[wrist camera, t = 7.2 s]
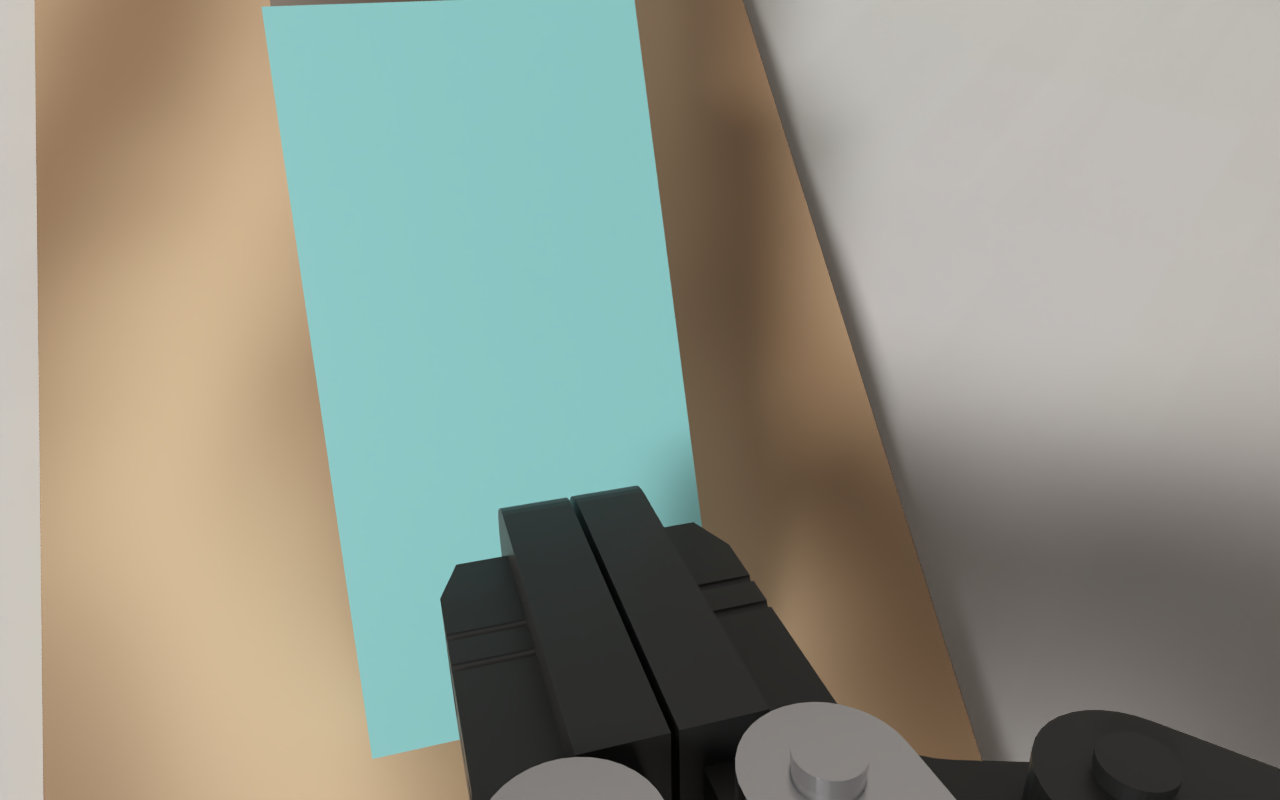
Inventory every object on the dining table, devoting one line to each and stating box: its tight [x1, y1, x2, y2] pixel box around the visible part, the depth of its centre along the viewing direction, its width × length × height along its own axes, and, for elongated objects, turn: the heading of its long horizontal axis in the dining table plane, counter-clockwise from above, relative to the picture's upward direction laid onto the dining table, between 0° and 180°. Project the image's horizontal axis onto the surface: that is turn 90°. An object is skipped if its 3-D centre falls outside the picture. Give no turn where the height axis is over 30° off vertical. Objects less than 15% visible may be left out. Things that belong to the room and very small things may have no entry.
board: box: [35, 0, 982, 800], centre depth 18 cm, size 14×25×1 cm, turn 12°
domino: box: [262, 0, 702, 759], centre depth 14 cm, size 5×2×10 cm
